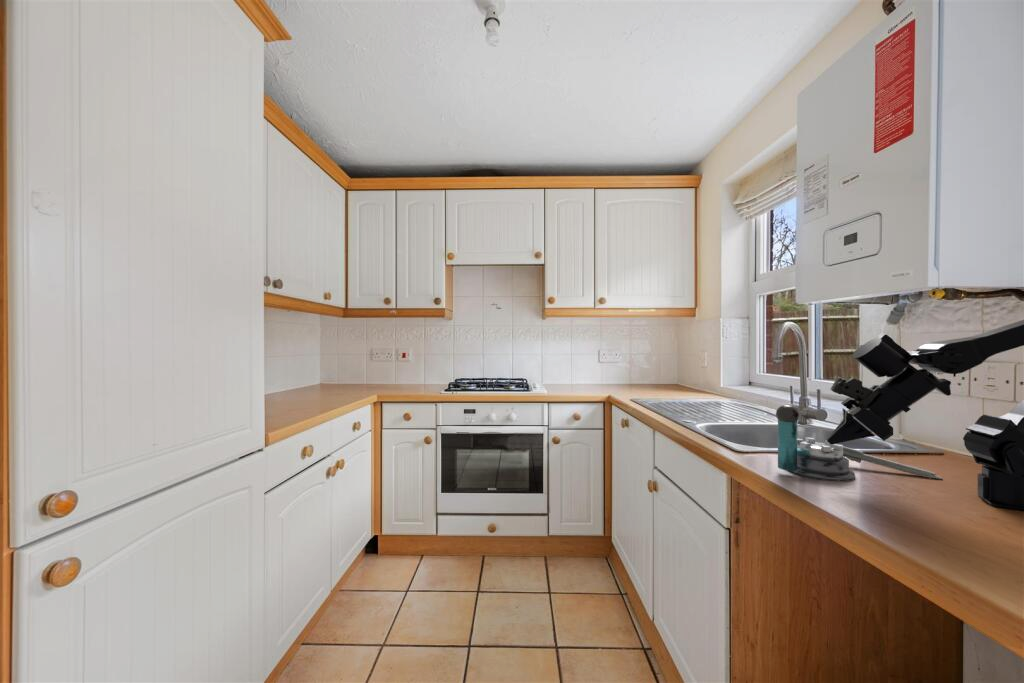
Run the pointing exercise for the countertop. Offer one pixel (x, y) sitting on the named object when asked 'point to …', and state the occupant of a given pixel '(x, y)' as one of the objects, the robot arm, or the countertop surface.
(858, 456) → the caliper
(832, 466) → the cap housing
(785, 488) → the countertop surface
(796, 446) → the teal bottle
